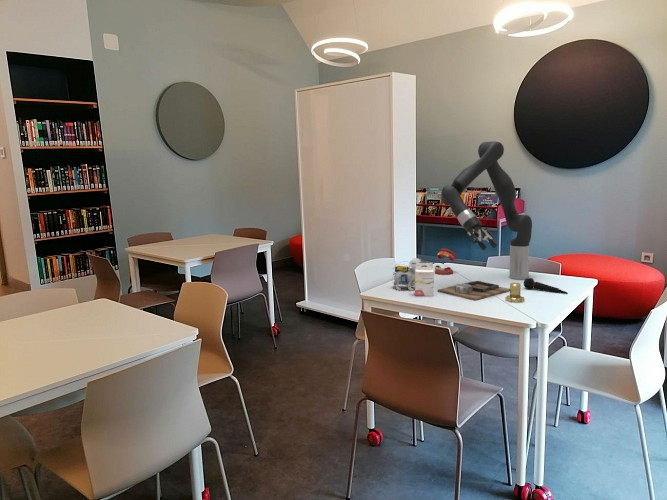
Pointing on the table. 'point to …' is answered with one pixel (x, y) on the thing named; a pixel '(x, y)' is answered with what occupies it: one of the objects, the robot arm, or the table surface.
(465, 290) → the carrier plate
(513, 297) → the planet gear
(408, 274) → the robotic toy
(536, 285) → the microphone
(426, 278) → the ink cartridge box
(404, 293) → the table surface
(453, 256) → the anatomical model
